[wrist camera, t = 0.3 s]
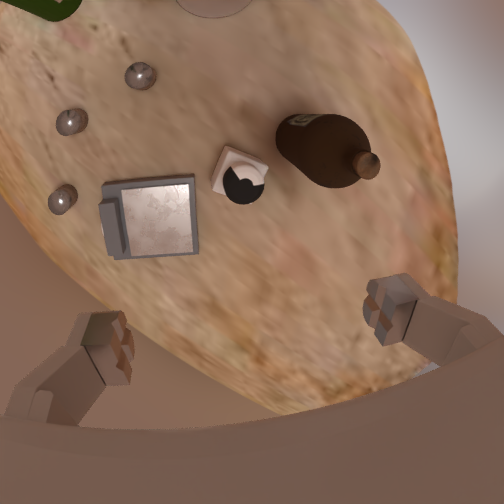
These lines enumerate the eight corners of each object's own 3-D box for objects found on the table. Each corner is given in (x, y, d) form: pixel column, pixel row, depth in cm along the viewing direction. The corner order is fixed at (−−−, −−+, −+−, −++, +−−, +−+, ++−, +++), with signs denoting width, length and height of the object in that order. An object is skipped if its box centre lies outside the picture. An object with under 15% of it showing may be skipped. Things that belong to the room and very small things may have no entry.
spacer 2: (56, 185, 48) (45, 193, 43) (75, 182, 49) (65, 190, 44) (60, 207, 50) (50, 216, 46) (79, 204, 51) (70, 213, 46)
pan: (122, 189, 49) (121, 190, 48) (188, 183, 50) (188, 184, 50) (132, 254, 55) (131, 256, 54) (193, 250, 57) (193, 252, 56)
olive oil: (328, 161, 55) (404, 203, 34) (275, 169, 55) (329, 217, 33) (322, 108, 50) (404, 118, 28) (268, 114, 49) (322, 122, 28)
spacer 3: (131, 67, 41) (124, 64, 37) (156, 64, 42) (152, 60, 37) (131, 91, 43) (124, 90, 39) (156, 88, 44) (152, 86, 40)
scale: (102, 182, 50) (93, 191, 45) (194, 174, 52) (193, 181, 48) (114, 254, 57) (108, 267, 52) (198, 248, 59) (198, 261, 55)
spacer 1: (66, 111, 42) (55, 112, 38) (87, 106, 43) (77, 107, 38) (68, 134, 44) (56, 138, 40) (88, 130, 45) (79, 133, 40)
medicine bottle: (245, 193, 56) (257, 216, 45) (209, 180, 54) (212, 200, 43) (260, 159, 53) (277, 173, 43) (224, 144, 51) (232, 155, 40)
